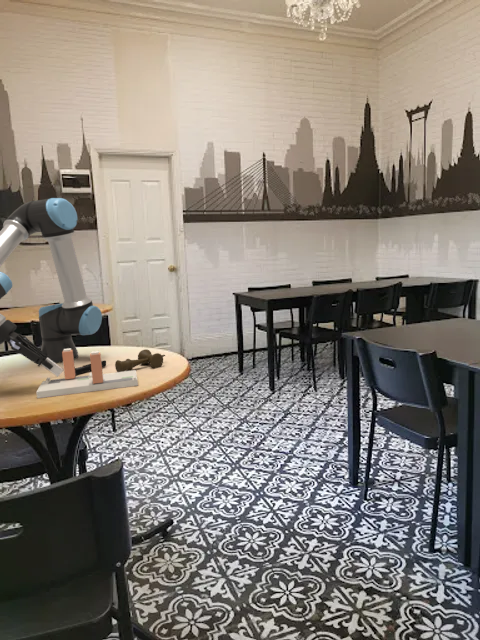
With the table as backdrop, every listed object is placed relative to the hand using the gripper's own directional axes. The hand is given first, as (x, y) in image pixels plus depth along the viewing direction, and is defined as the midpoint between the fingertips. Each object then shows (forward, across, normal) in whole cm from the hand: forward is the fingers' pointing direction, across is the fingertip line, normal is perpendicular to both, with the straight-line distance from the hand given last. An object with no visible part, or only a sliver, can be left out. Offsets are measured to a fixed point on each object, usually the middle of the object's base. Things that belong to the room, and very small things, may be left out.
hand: (60, 373), depth 152 cm
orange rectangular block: (+10, +9, +7) cm, 15 cm away
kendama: (+22, -13, +15) cm, 30 cm away
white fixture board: (+9, +4, +3) cm, 11 cm away
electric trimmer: (+8, -17, +1) cm, 19 cm away
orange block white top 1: (+4, 0, 0) cm, 4 cm away
